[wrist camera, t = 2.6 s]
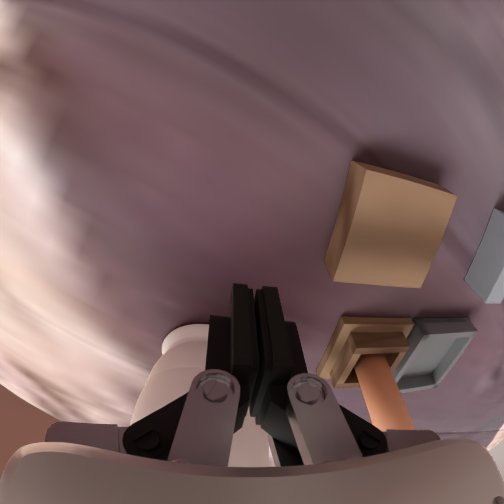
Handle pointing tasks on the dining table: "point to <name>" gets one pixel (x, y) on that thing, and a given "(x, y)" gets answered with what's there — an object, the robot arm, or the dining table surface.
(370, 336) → the holder
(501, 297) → the gray rectangular block
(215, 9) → the dining table surface
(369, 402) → the dowel
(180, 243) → the dining table surface
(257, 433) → the jar
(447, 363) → the tray
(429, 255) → the tan wooden block
